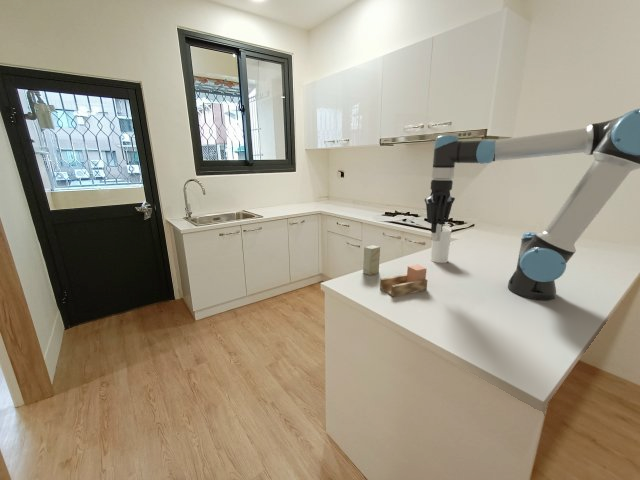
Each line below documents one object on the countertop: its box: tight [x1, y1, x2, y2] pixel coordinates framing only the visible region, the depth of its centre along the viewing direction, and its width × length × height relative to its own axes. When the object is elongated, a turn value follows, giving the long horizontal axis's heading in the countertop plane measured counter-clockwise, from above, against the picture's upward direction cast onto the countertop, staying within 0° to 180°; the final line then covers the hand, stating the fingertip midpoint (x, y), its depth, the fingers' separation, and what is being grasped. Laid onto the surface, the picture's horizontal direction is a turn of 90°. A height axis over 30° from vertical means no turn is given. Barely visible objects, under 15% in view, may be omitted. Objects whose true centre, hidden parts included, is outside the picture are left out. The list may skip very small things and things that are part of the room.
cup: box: [430, 227, 452, 264], centre depth 147 cm, size 8×8×16 cm
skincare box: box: [362, 244, 381, 276], centre depth 131 cm, size 6×4×12 cm
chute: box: [379, 273, 428, 298], centre depth 115 cm, size 16×8×4 cm, turn 113°
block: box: [406, 264, 427, 283], centre depth 117 cm, size 5×5×8 cm
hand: (435, 240), depth 116 cm, fingers closed
